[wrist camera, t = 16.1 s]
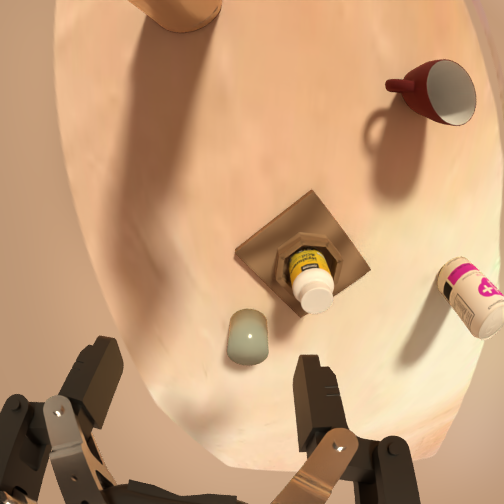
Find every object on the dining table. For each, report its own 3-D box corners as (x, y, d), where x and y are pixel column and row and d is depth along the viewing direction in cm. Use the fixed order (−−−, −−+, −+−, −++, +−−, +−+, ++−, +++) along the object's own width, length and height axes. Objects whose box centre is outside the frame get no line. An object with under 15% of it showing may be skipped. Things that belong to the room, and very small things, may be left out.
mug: (377, 120, 34) (412, 126, 25) (367, 65, 30) (401, 54, 21) (437, 119, 33) (479, 126, 24) (429, 67, 29) (471, 63, 20)
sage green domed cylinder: (222, 321, 49) (218, 350, 43) (250, 302, 47) (249, 331, 41) (247, 341, 52) (246, 370, 45) (274, 324, 50) (276, 353, 43)
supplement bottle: (312, 237, 41) (327, 275, 32) (330, 264, 43) (347, 305, 34) (280, 257, 42) (286, 298, 33) (299, 282, 44) (309, 325, 36)
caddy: (235, 249, 43) (233, 261, 40) (311, 189, 39) (317, 196, 35) (299, 313, 48) (302, 327, 45) (368, 265, 44) (376, 277, 41)
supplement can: (447, 250, 43) (495, 299, 29) (473, 259, 44) (518, 304, 30) (428, 288, 46) (467, 342, 33) (455, 294, 47) (493, 343, 34)
